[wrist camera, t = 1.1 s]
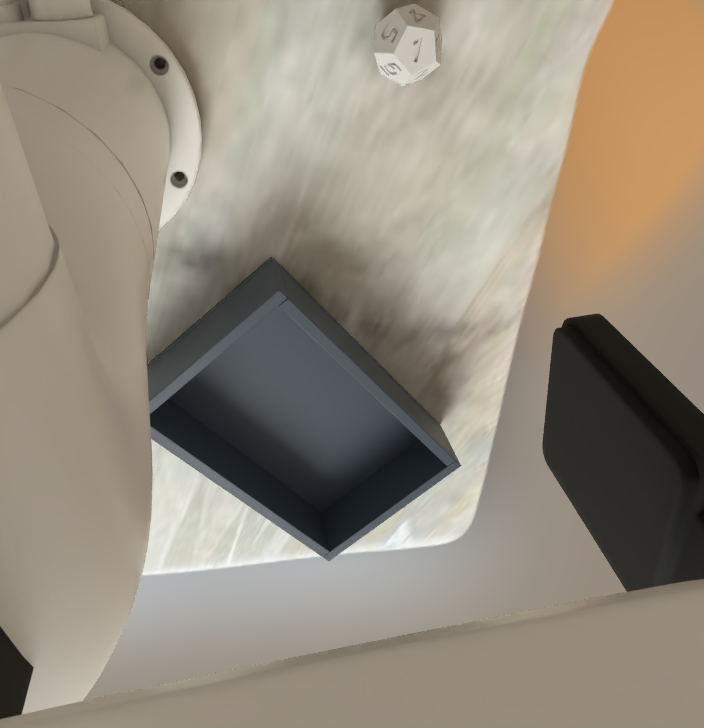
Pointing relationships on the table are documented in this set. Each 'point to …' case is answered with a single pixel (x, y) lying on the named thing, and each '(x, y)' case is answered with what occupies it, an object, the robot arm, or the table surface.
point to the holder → (294, 415)
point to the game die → (408, 44)
